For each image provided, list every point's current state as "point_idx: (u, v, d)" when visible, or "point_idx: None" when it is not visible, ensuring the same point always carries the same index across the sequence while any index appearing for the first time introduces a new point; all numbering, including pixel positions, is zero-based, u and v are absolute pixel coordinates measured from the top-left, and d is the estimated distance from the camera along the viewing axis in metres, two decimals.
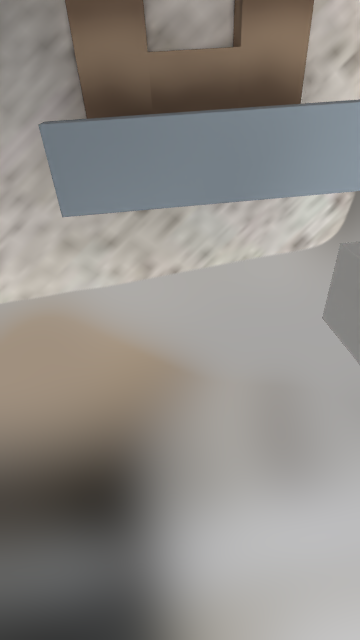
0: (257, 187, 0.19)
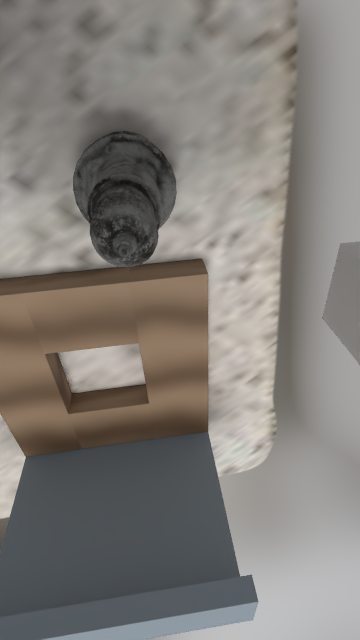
0: (132, 638, 0.24)
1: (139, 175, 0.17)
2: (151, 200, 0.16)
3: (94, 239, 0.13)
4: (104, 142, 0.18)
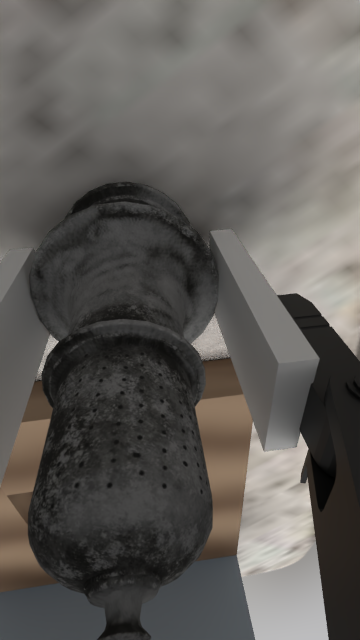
0: None
1: (156, 289, 0.08)
2: (185, 368, 0.07)
3: (36, 559, 0.05)
4: (86, 219, 0.09)
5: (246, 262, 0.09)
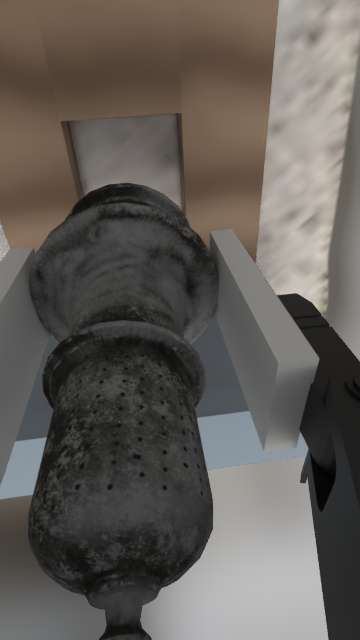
0: None
1: (156, 290, 0.08)
2: (185, 369, 0.07)
3: (37, 560, 0.05)
4: (86, 220, 0.09)
5: (246, 262, 0.09)
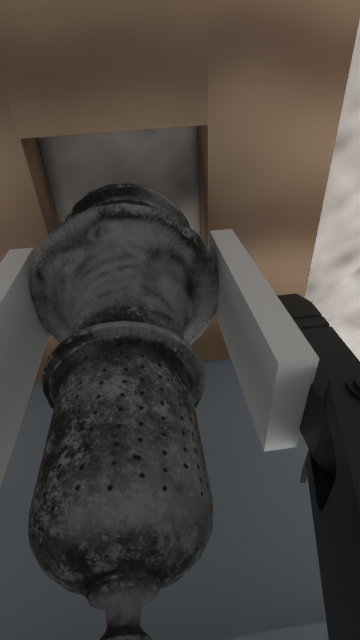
0: None
1: (156, 291, 0.08)
2: (185, 370, 0.07)
3: (37, 561, 0.05)
4: (86, 220, 0.09)
5: (246, 262, 0.09)
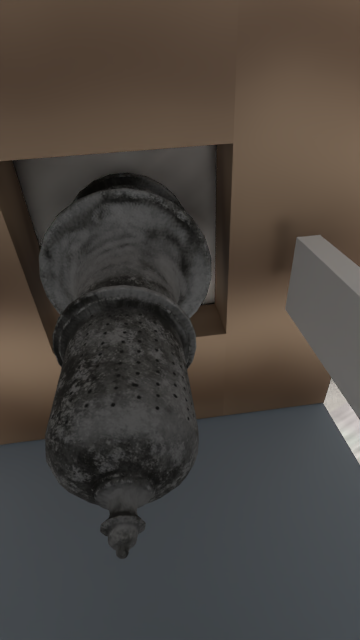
0: None
1: (153, 266, 0.10)
2: (178, 330, 0.08)
3: (52, 471, 0.06)
4: (91, 203, 0.10)
5: (357, 273, 0.08)
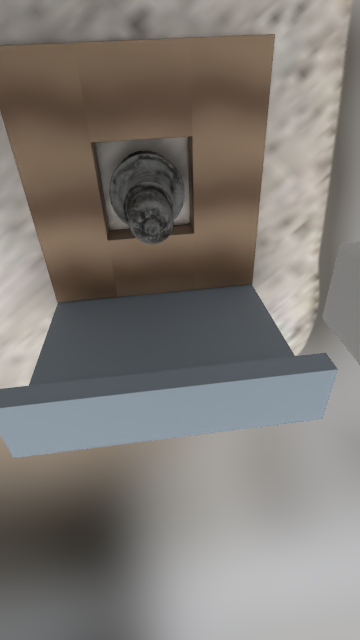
0: (189, 428, 0.21)
1: (159, 183, 0.24)
2: (168, 200, 0.23)
3: (131, 224, 0.20)
4: (134, 159, 0.25)
5: None
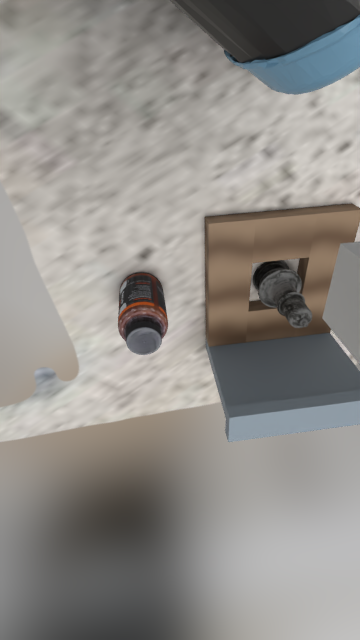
0: (320, 426, 0.40)
1: (293, 287, 0.43)
2: (303, 300, 0.41)
3: (291, 319, 0.39)
4: (277, 272, 0.43)
5: None
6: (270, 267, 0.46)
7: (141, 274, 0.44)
